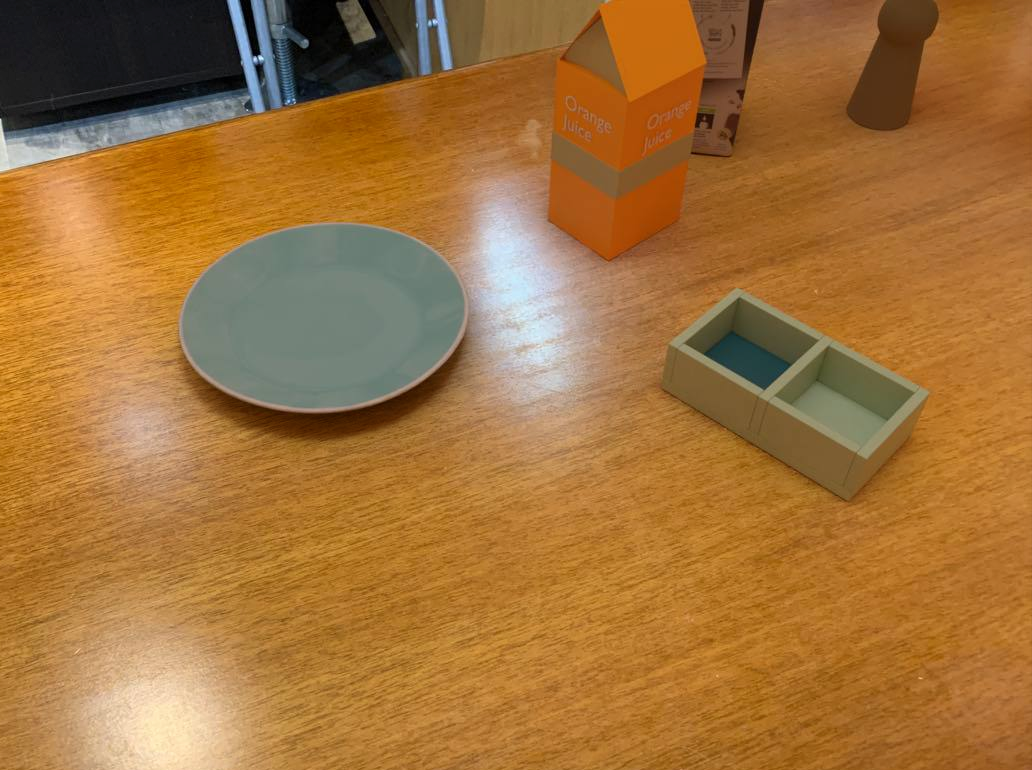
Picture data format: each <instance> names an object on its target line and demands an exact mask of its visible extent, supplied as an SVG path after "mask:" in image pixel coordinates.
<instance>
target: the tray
mask: <svg viewBox="0 0 1032 770" xmlns="http://www.w3.org/2000/svg"><path fill="white" fill-rule="evenodd" d="M664 360H665V361H664V366H663V371H662V377H661V383H660V388H661V389H662V390H663V391H664V392H666V393H669V395H672V396H673V397H675V398H676V399H678V400H680V401H682V402H683V403H685V404H687V406H690V407H691V408H693V409H695V410H696V411H698V412H700V413H701V414H703V415H705V416H706V417H708V418H709V419H711V420H713V421H714V422H716V423H718V424H720V425H721V426H723V427H724V428H726V429H728V430H729V431H731V432H733V433H734V434H736V435H737V436H739V437H740V438H742V439H744V440H746V441H747V442H749V443H751V444H752V445H754V446H756V447H757V448H759V449H761V450H762V451H764V452H765V453H767V454H769V455H770V456H772V457H773V458H775V459H777V460H779V461H780V462H782V463H783V464H785V465H786V466H788V467H790V468H792V469H793V470H795V471H797V472H799V473H800V474H802V475H803V476H805V477H807V478H809V479H810V480H811V481H813V482H815V483H817V484H818V485H820V486H821V487H823V488H824V489H826V490H828V491H830V493H833V494H834V495H836V496H838V497H840V498H841V499H843V500H844V501H846V502H848V503H849V502H850V501H851V500H853V498H854V497H855V496H856V494H857V493H859V492H860V491H861V490H862V488H863V487H865V485H866V484H867V483H868V482H869V481H870V480H871V479H872V478H873V477H874V476H875V474H876V473H878V471H879V470H880V469H881V468H882V467H883V466H884V465H885V464H886V463H887V462H888V461H889V460H890V459H891V457H892V456H893V455H894V454H895V453H896V452H897V451H898V450H899V449H900V448H901V447H902V446H903V445H904V444H905V443H906V442H907V440H908V439H909V438H910V437H911V436H912V434H913V432H914V429H915V427H916V426H917V423H918V421H919V419H920V416H921V414H922V412H923V410H924V408H925V406H926V403H927V401H928V399H929V398H930V394H931V391H930V390H928V389H926V388H924V387H922V386H920V385H918V384H917V383H915V382H913V381H911V380H909V379H907V378H905V377H904V376H902V375H900V374H898V373H896V372H894V371H892V370H891V369H888V368H887V367H885V366H883V365H882V364H879V363H877V362H876V361H874V360H872V359H871V358H869V357H867V356H865V355H864V354H861V353H859V352H857V351H856V350H854V349H852V348H850V347H849V346H846V345H845V344H842V343H841V342H839V341H837V340H835V339H833V338H831V337H829V336H828V335H826V334H824V333H822V332H820V331H819V330H817V329H815V328H813V327H811V326H809V325H807V324H805V323H804V322H802V321H800V320H798V319H796V318H794V317H793V316H791V315H789V314H787V313H785V312H784V311H781V310H779V308H775V307H774V306H772V305H770V304H769V303H766V302H765V301H763V300H761V299H759V298H757V297H755V296H754V295H752V294H751V293H749V292H746V291H744V290H742V289H741V288H739V287H735V288H734V289H733V290H732V291H730V292H728V294H727V295H725V296H724V297H723V298H722V299H721V300H719V301H718V302H717V303H715V304H714V305H713V306H712V307H711V308H710V309H708V310H707V311H706V312H705V313H704V314H702V315H701V316H700V317H698V318H697V319H696V320H695V321H694V322H692V323H691V324H690V325H689V326H688V327H686V328H685V329H684V330H683V331H682V332H681V333H679V334H678V335H677V336H676V337H674V338H673V339H672V340H671V341H669V342H668V345H667V350H666V355H665V359H664Z"/></svg>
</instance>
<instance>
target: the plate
mask: <svg viewBox="0 0 1032 770" xmlns="http://www.w3.org/2000/svg"><path fill="white" fill-rule="evenodd" d="M470 309H471V308H470V299H469V293H468V291H467V288H466V285H465V282H464V280H463V278H462V277H461V275H460V273H459V272H458V271H457V269H456V268H455V267H454V265H453V264H452V262H450V261H449V260H448V259H447V258H446V257H445V256H444V255H443V254H442V253H440V252H439V251H438V250H437V249H435V248H434V247H433V246H431V245H430V244H428V243H426V242H424V241H423V240H420V239H418V238H417V237H414V236H412V235H410V234H408V233H405V232H402V231H398V230H395V229H393V228H389V227H384V226H379V225H376V224H375V225H374V224H368V223H360V222H343V221H341V222H339V221H337V222H335V221H334V222H332V221H329V222H314V223H308V224H307V223H306V224H301V225H296V226H295V225H294V226H291V227H285V228H281V229H278V230H274V231H270V232H268V233H264V234H262V235H259V236H256V237H254V238H252V239H249V240H247V241H245V242H243V243H241V244H239V245H237V246H235V247H233V248H232V249H230V250H229V251H226V252H225V253H224V254H222V255H221V256H219V257H218V258H217V259H215V260H214V261H213V262H212V263H211V264H209V265H208V266H207V267H206V268H205V269H204V270H203V271H202V273H200V275H198V277H197V278H196V280H195V281H194V282H193V283H192V285H191V286H190V288H189V289H188V291H187V293H186V295H185V297H184V299H183V302H182V303H181V307H180V311H179V315H178V324H177V333H178V340H179V344H180V347H181V350H182V352H183V354H184V356H185V358H186V360H187V362H188V363H189V364H190V366H191V367H192V368H193V370H194V371H195V373H197V374H198V375H199V376H200V377H201V378H202V379H203V380H204V381H206V383H208V384H210V385H211V386H212V387H214V388H216V389H217V390H219V391H220V392H221V393H225V394H226V395H228V396H230V397H233V398H235V399H237V400H239V401H243V402H245V403H248V404H251V405H254V406H257V407H261V408H266V409H270V410H274V411H281V412H287V413H296V414H334V413H343V412H350V411H356V410H360V409H364V408H368V407H372V406H376V405H379V404H381V403H384V402H387V401H389V400H391V399H393V398H396V397H399V396H400V395H402V394H404V393H406V392H408V391H410V390H412V389H413V388H415V387H416V386H418V385H420V384H421V383H423V382H424V381H425V380H427V379H428V378H429V377H430V376H432V375H433V374H434V373H436V372H437V371H438V370H439V369H440V368H441V367H442V366H443V365H444V364H445V363H446V362H447V361H448V360H449V359H450V357H452V355H453V353H454V352H455V351H456V349H457V348H458V346H459V345H460V343H461V342H462V340H463V338H464V336H465V334H466V331H467V327H468V324H469V319H470Z"/></svg>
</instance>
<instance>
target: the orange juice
mask: <svg viewBox="0 0 1032 770" xmlns="http://www.w3.org/2000/svg"><path fill="white" fill-rule="evenodd" d="M597 7H598V9H597V11H596V12H595V13H594V14H593V16H592V17H591V18H590V20H589V21H588V22H587V23H586V24H585V26H584V27H583V28H582V30H581V31H580V32H579V34H577V36H576V37H575V38H574V40H573V41H572V42H571V43H570V45H569V46H568V47H567V49H566V50H565V51H564V52H563V54H562V55H561V56H560V58H558V59H556V73H555V74H556V75H555V89H554V91H555V92H554V107H553V124H552V130H551V148H550V160H551V161H550V173H549V191H548V192H549V193H548V206H547V208H548V209H547V221H549V222H550V223H551V224H553V225H555V226H556V227H557V228H559V229H561V230H562V231H563V232H565V233H566V234H568V235H569V236H571V237H572V238H574V239H575V240H577V241H578V242H580V243H581V244H583V245H584V246H586V247H587V248H589V249H590V250H591V251H593V252H595V253H596V254H598V256H601V257H602V258H604V259H605V260H606V261H608V262H610V261H611V260H614V258H616V257H618V256H619V255H622V254H623V253H625V252H627V251H628V250H630V249H631V248H633V247H635V246H637V245H639V244H640V243H642V242H643V241H645V240H647V239H648V238H650V237H652V236H653V235H656V234H657V233H659V232H660V231H662V230H664V229H665V228H667V227H669V226H671V225H673V224H674V223H676V222H678V221H679V219H680V213H681V208H682V201H683V195H684V191H685V184H686V178H687V173H688V168H689V162H690V159H691V155H692V154H691V153H692V152H691V149H692V143H693V137H694V132H695V131H694V128H695V122H696V116H697V110H698V105H699V99H700V93H701V87H702V81H703V76H704V70H705V64H706V63H707V62H706V58H705V55H704V52H703V48H702V45H701V41H700V38H699V34H698V31H697V27H696V24H695V20H694V17H693V13H692V10H691V6H690V3H689V0H609V1H606V2H604V3H601V4H599V5H598V6H597Z"/></svg>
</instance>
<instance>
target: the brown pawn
mask: <svg viewBox="0 0 1032 770" xmlns="http://www.w3.org/2000/svg"><path fill="white" fill-rule="evenodd" d="M939 18H940V12H939V8H938V5H937V3H936V2H935V0H885V1H884V2H883V4H882V6H881V7H880V9H879V12H878V15H877V22H876V23H877V29H878V32H879V33H878V36H877V38H876V40H875V42H874V45H873V47H872V49H871V51H870V54H869V56H868V59H867V61H866V62H865V65H864V67H863V69H862V71H861V74H860V76H859V79H858V81H857V83H856V85H855V87H854V89H853V93H852V95H851V97H850V98H849V101H848V103H847V105H846V107H845V108H846V114H847V115H848V116H849V118H850V119H851V120H852V121H854V122H855V123H856V124H858V125H860V126H863V127H865V128H868V129H872V130H878V131H892V130H897V129H900V128H903V127H904V126H905V125H907V124H908V123H909V121H910V118H911V113H912V107H913V104H914V99H915V92H916V87H917V84H918V83H917V82H918V78H919V74H920V73H919V72H920V67H921V61H922V56H923V54H924V53H923V52H924V45H925V42H926V41H927V40H928V39H929V38H931V37H932V35H933V34H934V32H935V30H936V28H937V25H938V22H939V20H940V19H939Z"/></svg>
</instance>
